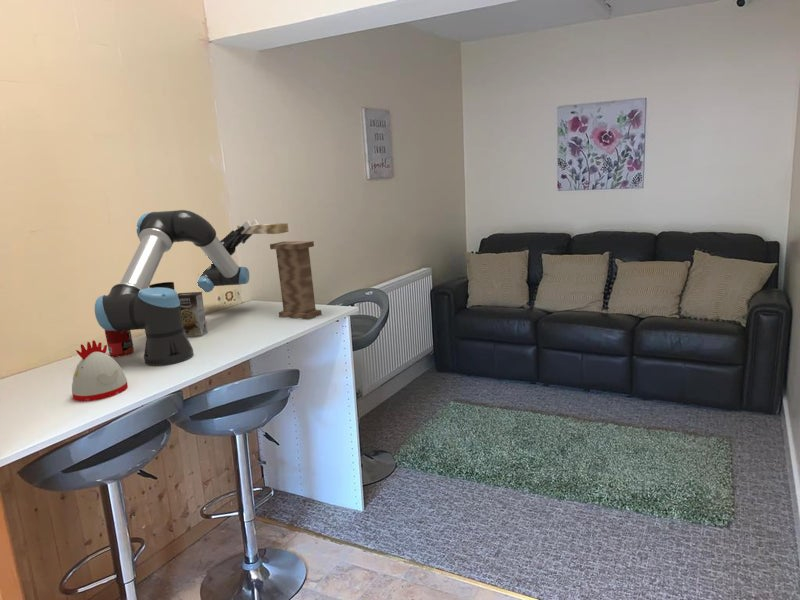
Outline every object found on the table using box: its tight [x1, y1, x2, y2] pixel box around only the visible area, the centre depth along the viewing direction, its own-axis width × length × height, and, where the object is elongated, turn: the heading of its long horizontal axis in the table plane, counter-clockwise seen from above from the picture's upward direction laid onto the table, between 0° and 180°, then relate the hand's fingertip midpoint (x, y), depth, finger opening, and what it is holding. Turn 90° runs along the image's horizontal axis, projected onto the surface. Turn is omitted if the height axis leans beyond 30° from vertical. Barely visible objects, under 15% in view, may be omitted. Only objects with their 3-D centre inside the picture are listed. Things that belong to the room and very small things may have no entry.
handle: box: [236, 222, 289, 235], centre depth 239 cm, size 24×6×4 cm, turn 58°
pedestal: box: [269, 240, 322, 320], centre depth 235 cm, size 16×8×30 cm, turn 58°
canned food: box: [104, 329, 135, 358], centre depth 202 cm, size 8×8×11 cm
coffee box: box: [177, 291, 208, 338], centre depth 219 cm, size 9×6×16 cm
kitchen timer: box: [71, 339, 128, 402], centre depth 163 cm, size 14×14×15 cm
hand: (253, 222), depth 241 cm, fingers closed on handle, 3 cm apart
